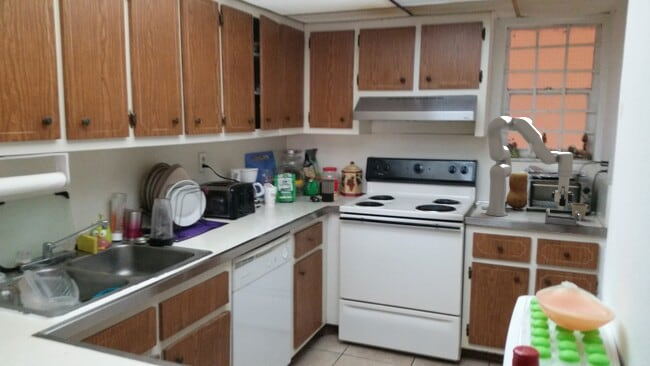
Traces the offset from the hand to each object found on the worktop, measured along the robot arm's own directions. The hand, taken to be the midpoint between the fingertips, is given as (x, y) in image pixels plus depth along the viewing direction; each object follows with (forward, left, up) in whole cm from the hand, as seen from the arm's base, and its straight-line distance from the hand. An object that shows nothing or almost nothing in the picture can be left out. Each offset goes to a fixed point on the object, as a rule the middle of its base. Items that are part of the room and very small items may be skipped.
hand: (562, 204), depth 294 cm
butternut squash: (-29, +33, -11) cm, 45 cm away
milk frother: (-151, -11, -11) cm, 152 cm away
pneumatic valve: (0, 0, -3) cm, 3 cm away
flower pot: (+8, +20, -11) cm, 24 cm away
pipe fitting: (0, 0, -10) cm, 10 cm away
